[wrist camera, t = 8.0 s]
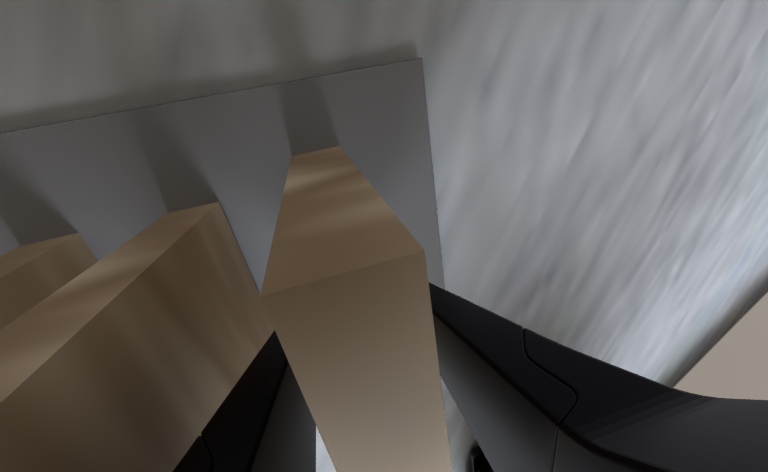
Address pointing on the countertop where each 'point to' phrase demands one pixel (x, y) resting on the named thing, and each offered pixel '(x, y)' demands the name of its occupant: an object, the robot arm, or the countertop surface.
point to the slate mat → (221, 162)
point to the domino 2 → (356, 319)
